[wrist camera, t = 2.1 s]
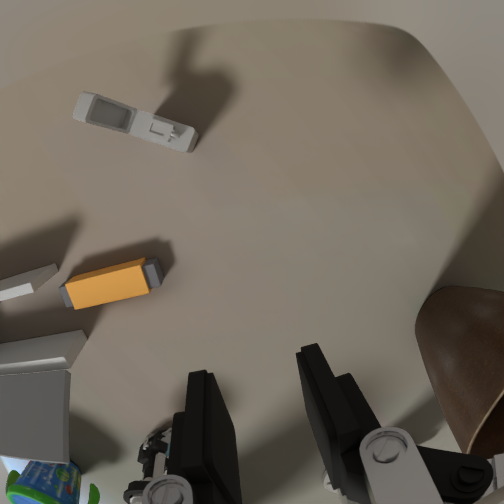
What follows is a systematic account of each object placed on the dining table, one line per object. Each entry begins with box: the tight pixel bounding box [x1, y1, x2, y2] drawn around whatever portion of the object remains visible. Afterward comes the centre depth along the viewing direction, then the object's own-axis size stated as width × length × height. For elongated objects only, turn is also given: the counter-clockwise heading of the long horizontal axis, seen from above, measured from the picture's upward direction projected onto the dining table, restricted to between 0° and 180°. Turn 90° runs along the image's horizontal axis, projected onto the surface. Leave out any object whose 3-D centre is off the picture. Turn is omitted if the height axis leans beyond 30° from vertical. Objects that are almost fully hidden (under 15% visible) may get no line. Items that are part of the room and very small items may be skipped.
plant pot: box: [415, 286, 504, 460], centre depth 23 cm, size 15×15×16 cm
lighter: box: [73, 91, 199, 153], centre depth 19 cm, size 7×2×8 cm, turn 68°
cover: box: [0, 370, 71, 464], centre depth 20 cm, size 14×8×1 cm
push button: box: [123, 428, 172, 504], centre depth 27 cm, size 7×5×10 cm
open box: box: [0, 263, 87, 375], centre depth 24 cm, size 14×8×5 cm, turn 102°
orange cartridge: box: [59, 258, 164, 310], centre depth 25 cm, size 9×2×2 cm, turn 102°
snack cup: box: [6, 461, 100, 504], centre depth 28 cm, size 16×10×10 cm
